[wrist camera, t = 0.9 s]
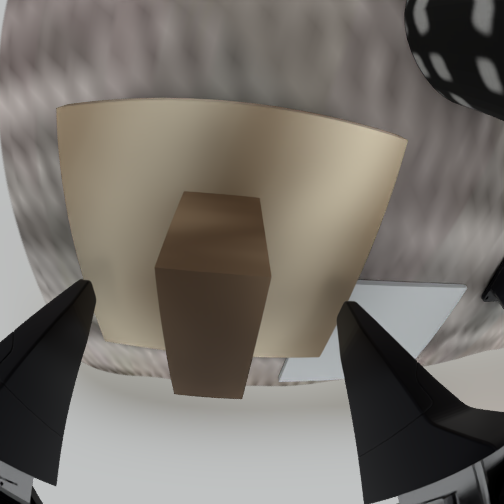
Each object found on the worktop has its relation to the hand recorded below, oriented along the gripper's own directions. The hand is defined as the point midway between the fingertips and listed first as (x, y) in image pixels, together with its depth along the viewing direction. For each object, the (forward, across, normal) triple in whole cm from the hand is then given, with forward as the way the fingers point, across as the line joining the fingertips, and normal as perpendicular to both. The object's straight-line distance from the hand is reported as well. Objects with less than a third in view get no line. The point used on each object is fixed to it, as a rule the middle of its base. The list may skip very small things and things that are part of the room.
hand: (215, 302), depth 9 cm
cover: (+3, 0, 0) cm, 3 cm away
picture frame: (+7, -14, +11) cm, 19 cm away
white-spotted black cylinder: (+8, -12, -13) cm, 19 cm away
